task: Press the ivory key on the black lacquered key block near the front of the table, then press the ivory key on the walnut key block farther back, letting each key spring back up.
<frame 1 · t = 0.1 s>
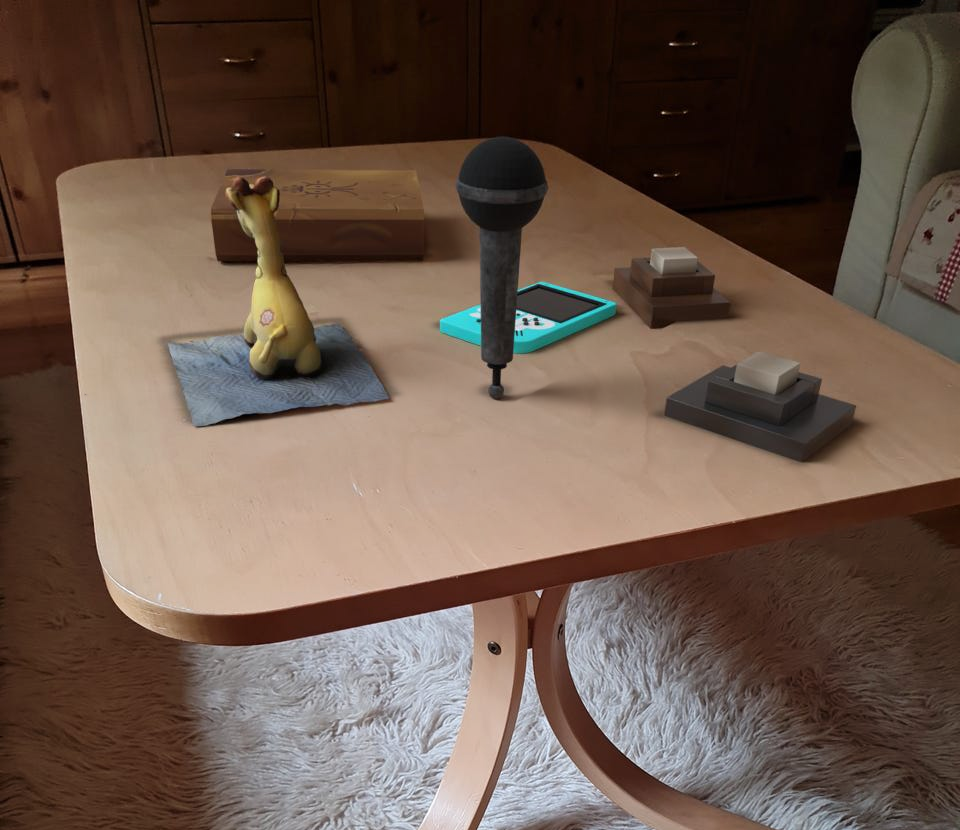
far block: (667, 306, 104), on the table
microphone: (495, 400, 85), on the table
near block: (756, 426, 81), on the table
far key: (673, 261, 101), point 4 cm above the table, slide at 0.1 cm
giraffe figurine: (273, 374, 88), on the table
near key: (766, 373, 79), point 4 cm above the table, slide at 0.1 cm
brown wooden box: (324, 241, 120), on the table
handheld game console: (529, 324, 99), on the table
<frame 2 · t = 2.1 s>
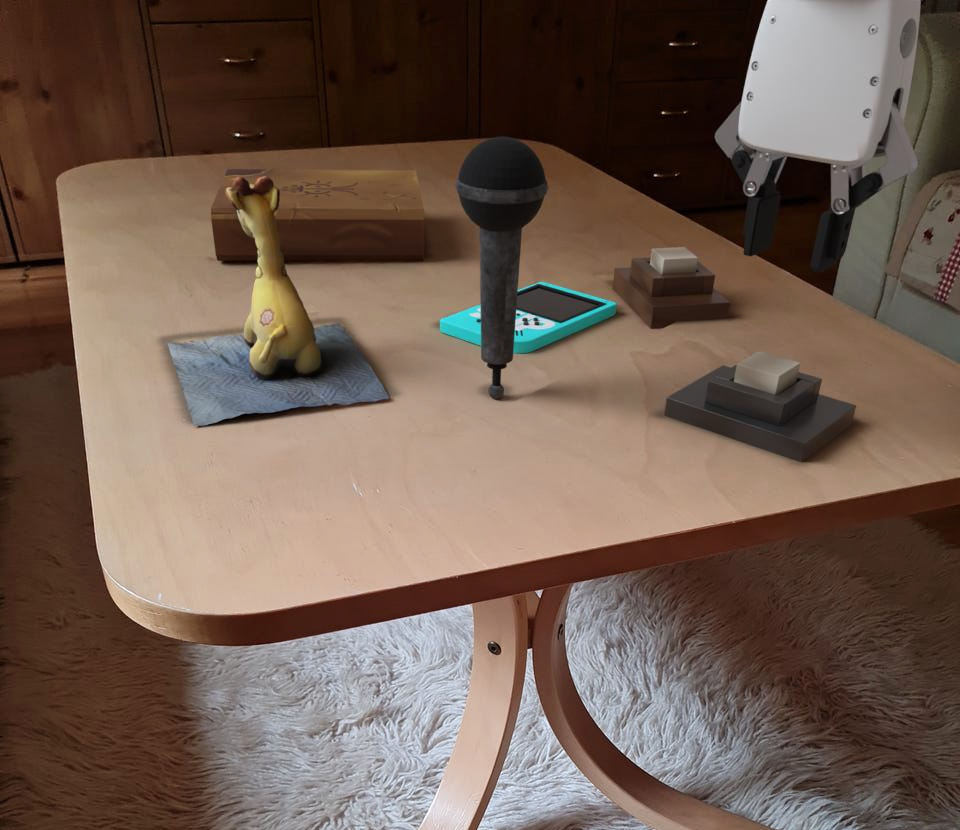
hand: (790, 256, 73), 13 cm above the table, tool pointing down, fingers open, 4 cm apart
nothing on the table moved.
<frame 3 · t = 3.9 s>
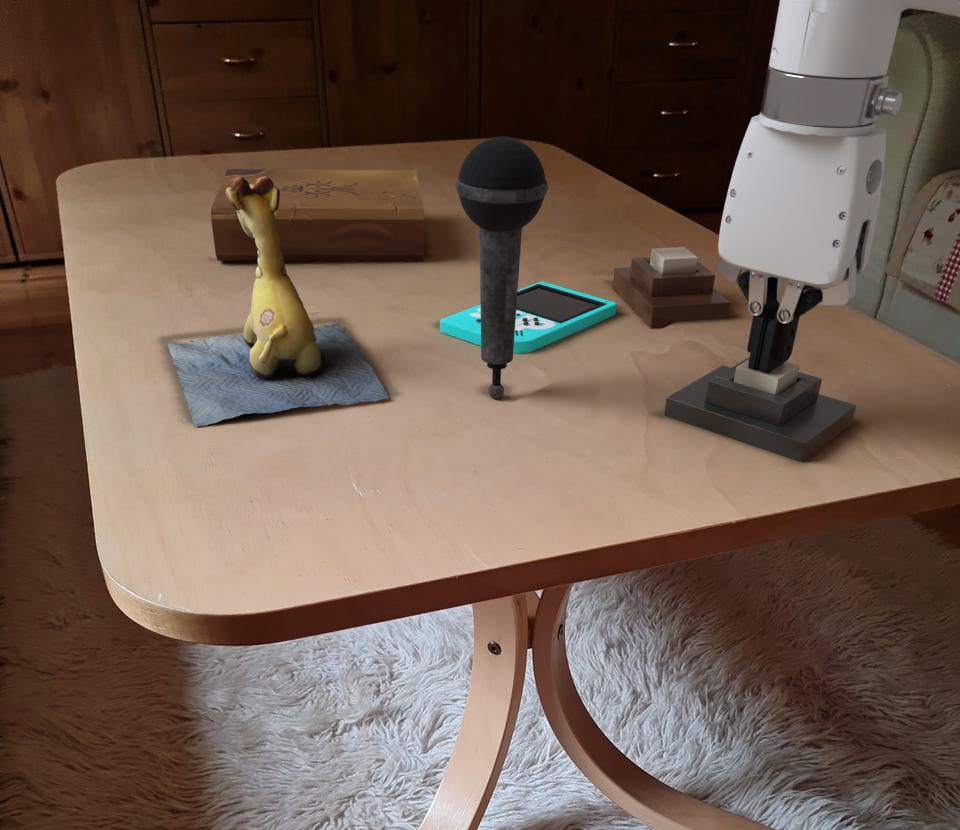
hand: (766, 365, 78), 5 cm above the table, tool pointing down, fingers closed
near key: (766, 376, 79), point 4 cm above the table, slide at -0.1 cm, touching gripper
everything else where it was.
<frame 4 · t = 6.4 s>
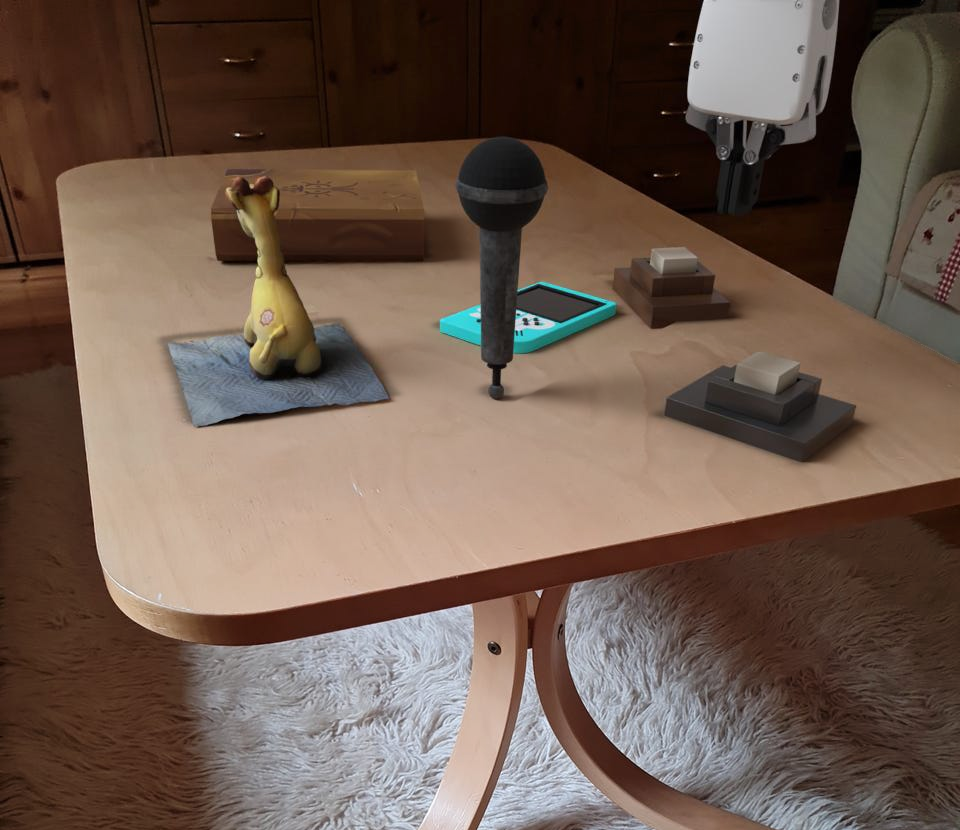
hand: (734, 211, 83), 13 cm above the table, tool pointing down, fingers closed
near key: (766, 373, 79), point 4 cm above the table, slide at 0.1 cm
everything else where it was.
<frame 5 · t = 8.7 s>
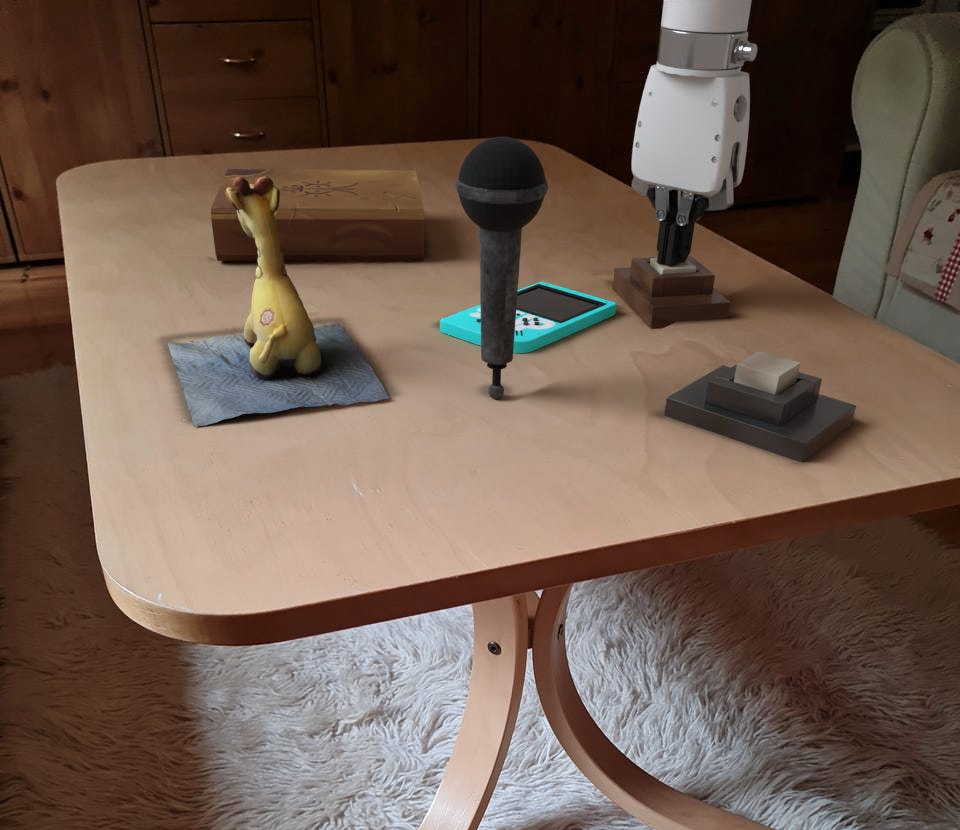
hand: (671, 261, 101), 4 cm above the table, tool pointing down, fingers closed
far key: (672, 271, 101), point 4 cm above the table, slide at -0.9 cm, touching gripper
everything else where it was.
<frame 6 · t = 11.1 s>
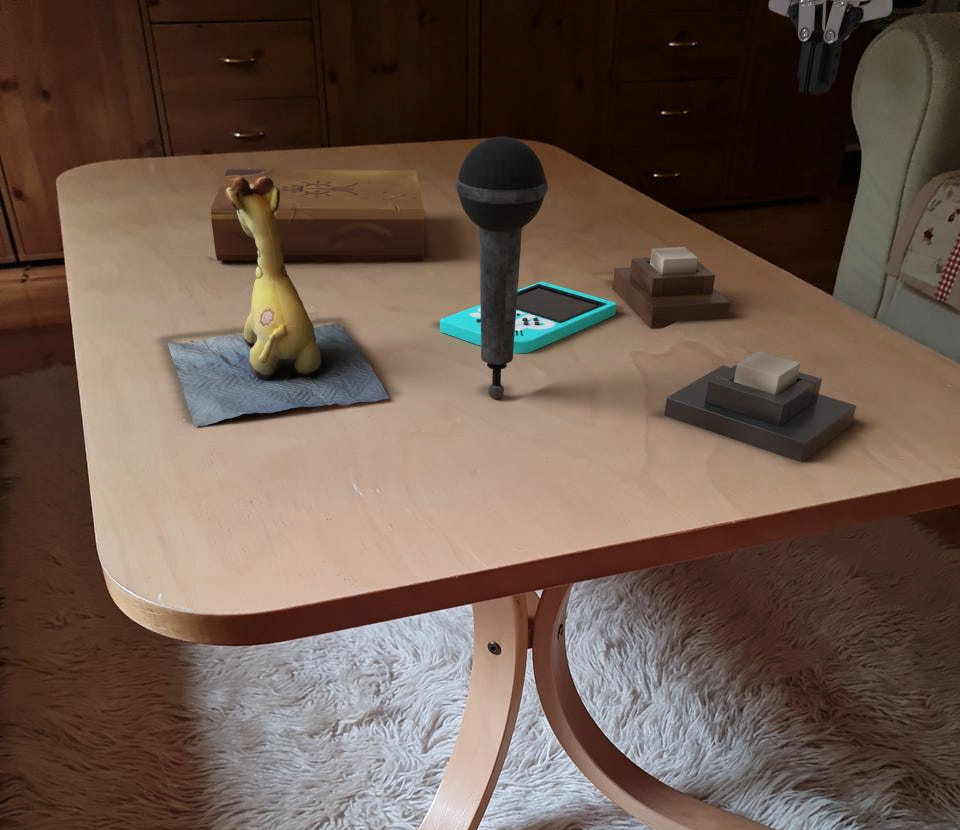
hand: (814, 91, 91), 20 cm above the table, tool pointing down, fingers closed
far key: (673, 261, 101), point 4 cm above the table, slide at 0.1 cm
everything else where it was.
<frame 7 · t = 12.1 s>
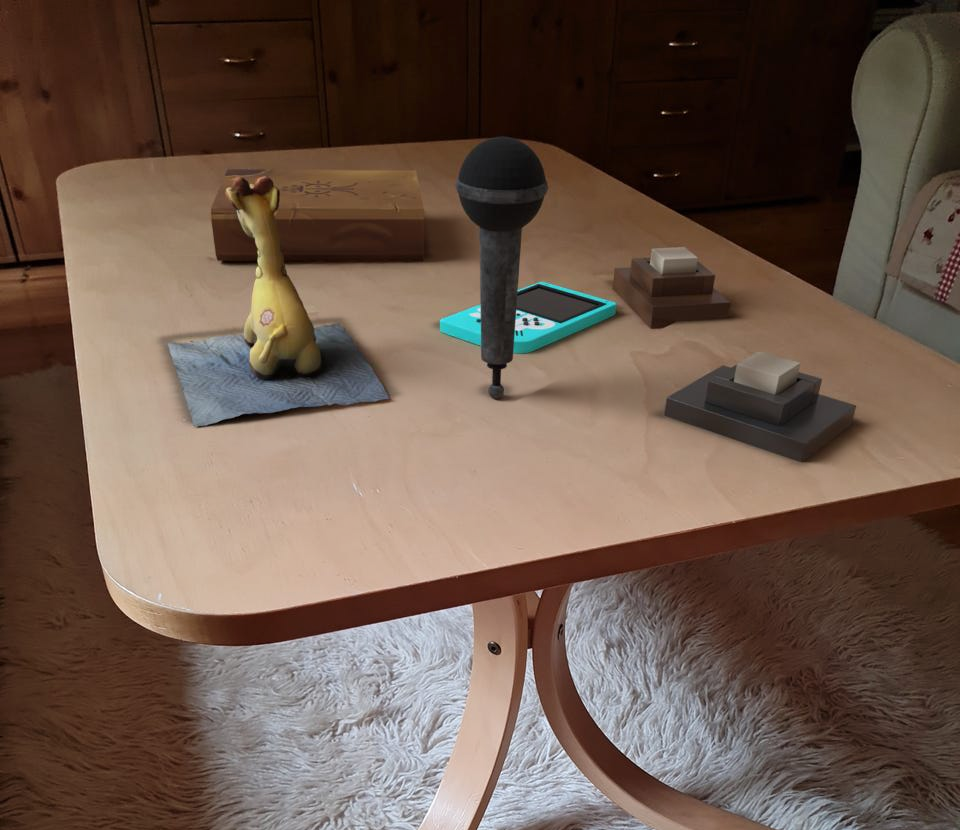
hand: (930, 1, 86), 27 cm above the table, tool pointing down, fingers closed
nothing on the table moved.
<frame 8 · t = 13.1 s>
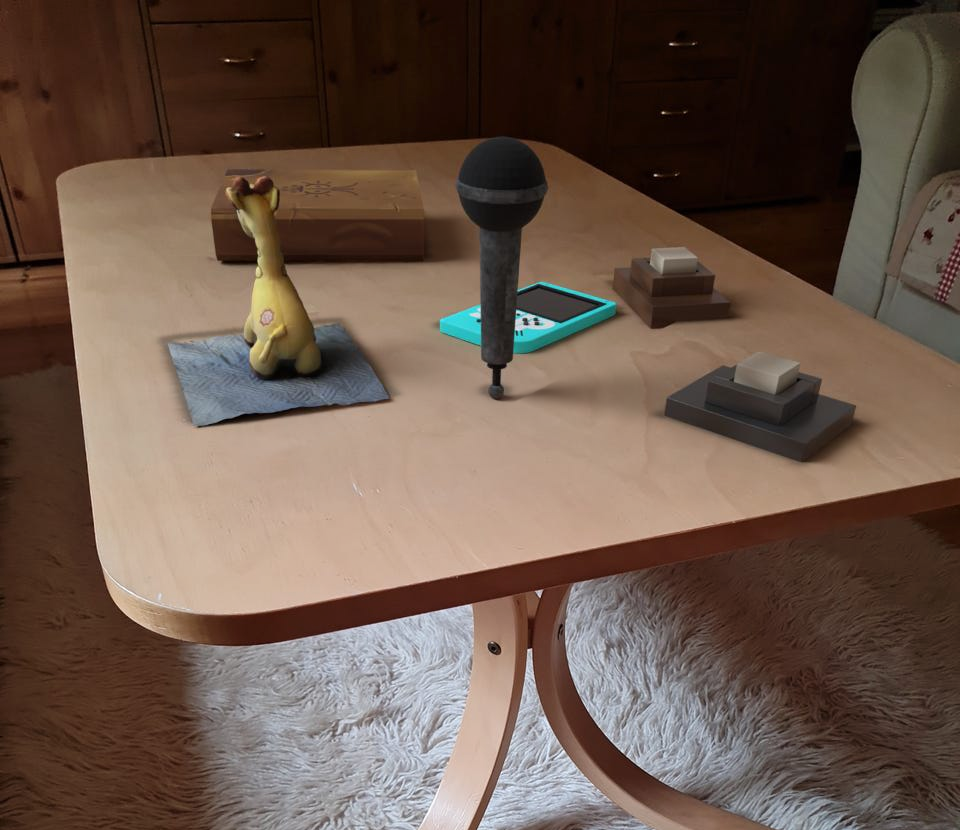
hand: (930, 1, 86), 27 cm above the table, tool pointing down, fingers closed
nothing on the table moved.
at the end: near key pushed in 1.1 cm at the most during the clip, back to where it started at the end; far key pushed in 1.1 cm at the most during the clip, back to where it started at the end; far key slide at 0.1 cm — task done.
